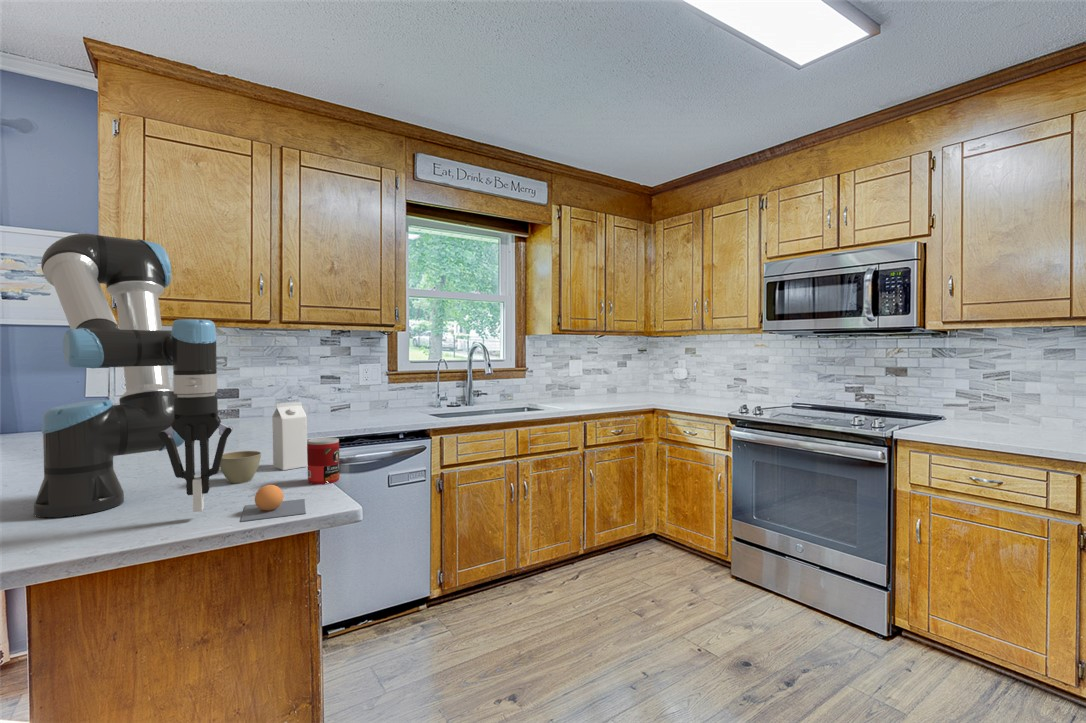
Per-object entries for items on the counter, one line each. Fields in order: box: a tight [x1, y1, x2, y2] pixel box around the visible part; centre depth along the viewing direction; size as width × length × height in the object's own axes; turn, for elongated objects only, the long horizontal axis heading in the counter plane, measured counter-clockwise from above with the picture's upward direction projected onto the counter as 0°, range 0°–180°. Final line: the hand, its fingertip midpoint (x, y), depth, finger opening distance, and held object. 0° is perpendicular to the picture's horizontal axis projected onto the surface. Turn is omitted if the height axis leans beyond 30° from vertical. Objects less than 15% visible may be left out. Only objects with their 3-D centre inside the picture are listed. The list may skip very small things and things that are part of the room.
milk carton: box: [271, 401, 308, 471], centre depth 160 cm, size 7×7×19 cm
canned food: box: [307, 436, 341, 485], centre depth 143 cm, size 8×8×11 cm
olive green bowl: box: [219, 450, 262, 484], centre depth 143 cm, size 10×10×7 cm
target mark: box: [240, 498, 307, 523], centre depth 117 cm, size 12×12×1 cm
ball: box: [254, 484, 284, 511], centre depth 117 cm, size 6×6×6 cm
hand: (198, 509), depth 111 cm, fingers closed
